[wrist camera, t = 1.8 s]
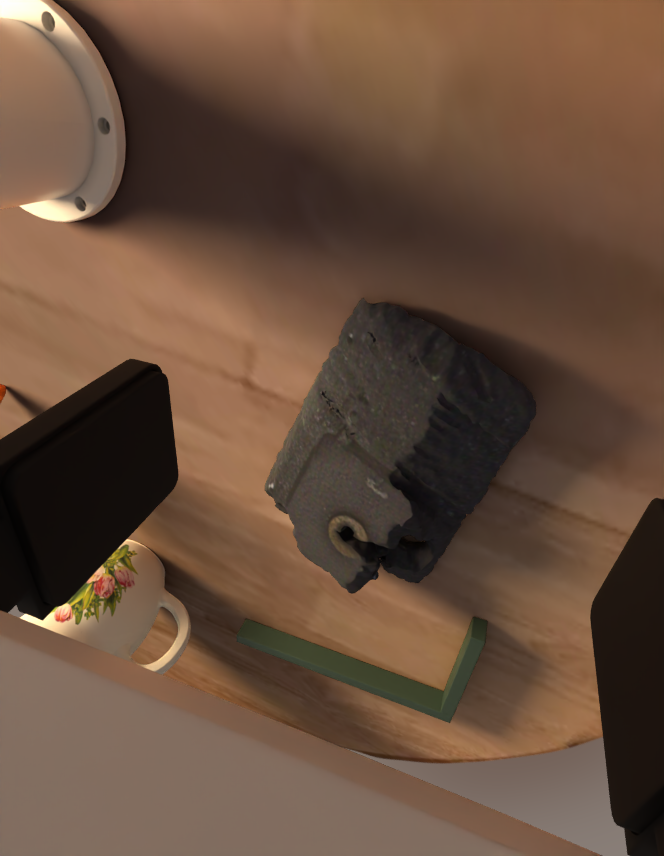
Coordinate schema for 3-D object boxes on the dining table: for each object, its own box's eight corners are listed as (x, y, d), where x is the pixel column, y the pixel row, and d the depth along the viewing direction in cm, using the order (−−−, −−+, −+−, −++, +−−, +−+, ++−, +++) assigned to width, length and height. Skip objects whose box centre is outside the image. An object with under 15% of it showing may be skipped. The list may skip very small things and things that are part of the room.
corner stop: (246, 624, 55) (236, 642, 54) (245, 540, 48) (233, 556, 46) (453, 702, 50) (449, 723, 49) (487, 620, 43) (485, 642, 41)
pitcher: (220, 623, 57) (145, 747, 46) (85, 570, 61) (-15, 673, 50) (219, 558, 51) (132, 683, 40) (69, 503, 54) (-49, 604, 43)
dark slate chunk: (583, 397, 31) (589, 439, 27) (410, 585, 44) (398, 631, 40) (362, 274, 31) (338, 297, 27) (257, 496, 44) (231, 533, 41)
